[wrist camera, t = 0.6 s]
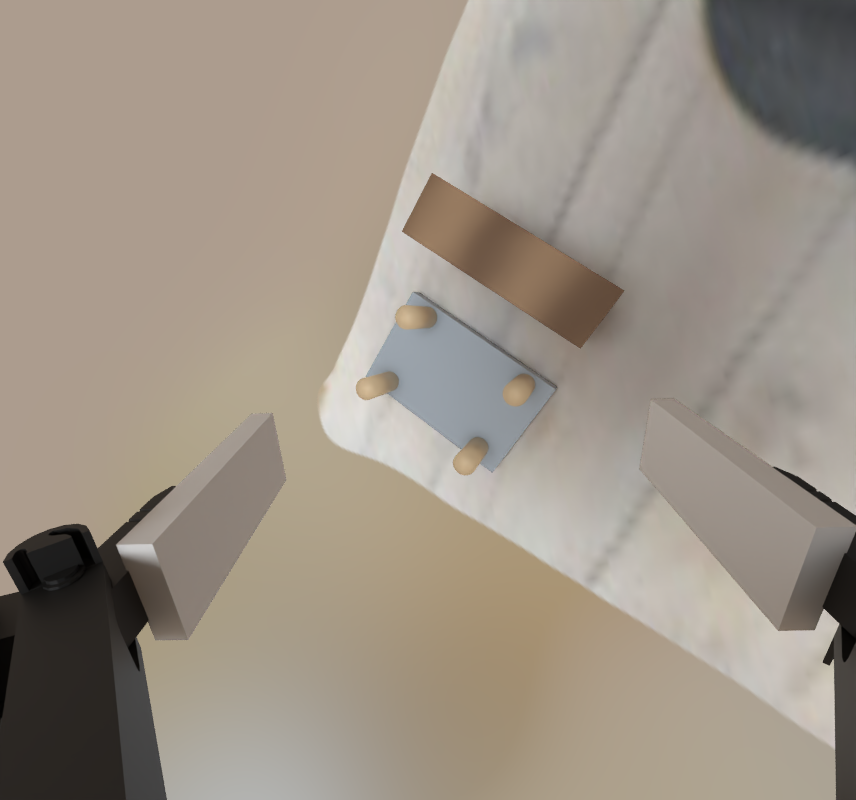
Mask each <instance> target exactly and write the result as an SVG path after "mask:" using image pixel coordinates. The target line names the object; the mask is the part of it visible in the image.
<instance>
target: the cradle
mask: <svg viewBox="0 0 856 800" xmlns="http://www.w3.org/2000/svg"><path fill="white" fill-rule="evenodd" d="M395 319H396V323H395V325H394V327H393V328H392V330H391V332H390V334H389V336H388V337H387V339H386V341H385V343H384V345H383V346H382V348H381V350H380V352H379V354H378V355H377V357H376V359H375V361H374V362H373V364H372V366H371V368H370V370H369V371H368V373H367V375H366V378H362V379H360V380H359V381H358V382H357V385H356V391H357V394H358V396H359V397H360V398H362V399H364V400H370V399H372V398H375V397H378V396H380V395H383V394H385V393H387V394H389V395H390V396H391V397H393V398H394V399H395V400H397V401H398V402H399V403H401V404H402V405H403V406H404V407H406V408H407V409H408V410H410V411H411V412H412V413H414V414H415V415H416V416H418V417H419V418H420V419H422V420H423V421H424V422H426V423H427V424H428V425H430V426H431V427H432V428H434V429H435V430H436V431H438V432H439V433H440V434H442V435H443V436H444V437H446V438H447V439H448V440H450V441H451V442H452V443H454V444H455V445H456V446H458V447H459V448H460V449H462V450H461V451H460V452H459V453H458V454H457V455H456V456H455V458H454V460H453V466H454V468H455V470H456V471H457V472H458V473H459V474H461V475H470V474H472V473H473V472H474V470H475V469H476V468H477V466H478V465H479V463H480V464H481V465H483V466H484V467H485V468H487V469H488V470H489V471H491V472H493V471H494V470H495V468H496V467H497V466H498V464H499V463H500V462H501V461H502V459H503V458H504V457H505V455H506V454H507V453H508V451H509V450H510V449H511V447H512V446H513V445H514V444H515V442H516V441H517V440H518V438H519V437H520V436H521V434H522V433H523V432H524V431H525V429H526V428H527V427H528V425H529V424H530V423H531V421H532V420H533V419H534V417H535V416H536V415H537V414H538V412H539V411H540V410H541V408H542V407H543V406H544V404H545V403H546V402H547V401H548V399H549V398H550V397H551V395H552V394H553V393H554V391H555V390H556V388H557V387H556V386H555V385H553V384H552V383H550V382H549V381H547V380H546V379H544V378H543V377H542V376H540V375H539V374H537V373H536V372H534V371H533V370H531V369H530V368H528V367H527V366H525V365H524V364H523V363H521V362H520V361H518V360H517V359H515V358H514V357H512V356H511V355H509V354H508V353H506V352H505V351H504V350H502V349H501V348H499V347H498V346H496V345H495V344H493V343H492V342H490V341H489V340H487V339H486V338H485V337H483V336H482V335H480V334H479V333H477V332H476V331H474V330H473V329H471V328H470V327H468V326H467V325H466V324H464V323H463V322H461V321H460V320H458V319H457V318H455V317H454V316H452V315H451V314H449V313H448V312H447V311H445V310H444V309H442V308H441V307H439V306H438V305H436V304H435V303H433V302H432V301H430V300H429V299H428V298H426V297H425V296H423V295H422V294H420V293H418V292H413V293H412V294H411V296H410V298H409V300H408V302H407V303H406V305H404V306H401V307H400V308H399V309H398V310H397V312H396V316H395Z"/></svg>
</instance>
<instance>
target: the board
mask: <svg viewBox="0 0 856 800" xmlns="http://www.w3.org/2000/svg"><path fill="white" fill-rule="evenodd" d="M402 232H404V233H405V234H407V235H408V236H410V237H411V238H413V239H414V240H416V241H417V242H419V243H420V244H422V245H423V246H425V247H426V248H428V249H429V250H431V251H433V252H434V253H436V254H437V255H439V256H440V257H442V258H443V259H445V260H446V261H448V262H449V263H451V264H452V265H454V266H455V267H457V268H458V269H460V270H461V271H463V272H465V273H466V274H468V275H469V276H471V277H472V278H474V279H475V280H477V281H478V282H480V283H481V284H483V285H484V286H486V287H487V288H489V289H490V290H492V291H493V292H495V293H497V294H498V295H500V296H501V297H503V298H504V299H506V300H507V301H509V302H510V303H512V304H513V305H515V306H516V307H518V308H519V309H521V310H522V311H524V312H525V313H527V314H529V315H530V316H532V317H533V318H535V319H536V320H538V321H539V322H541V323H542V324H544V325H545V326H547V327H548V328H550V329H551V330H553V331H554V332H556V333H558V334H559V335H561V336H562V337H564V338H565V339H567V340H568V341H570V342H571V343H573V344H574V345H576V346H577V347H579V348H580V349H581V347H582V346H583V345H584V343H585V342H586V341H587V339H588V338H589V337H590V335H591V334H592V333H593V332H594V330H595V329H596V328H597V326H598V325H599V324H600V322H601V321H602V320H603V318H604V317H605V316H606V314H607V313H608V312H609V310H610V309H611V308H612V307H613V305H614V304H615V303H616V301H617V300H618V299H619V297H620V296H621V295H622V293H623V292H624V290H622V289H621V288H619V287H618V286H616V285H614V284H613V283H611V282H609V281H608V280H606V279H605V278H603V277H601V276H600V275H598V274H596V273H595V272H593V271H591V270H590V269H588V268H587V267H585V266H583V265H582V264H580V263H578V262H577V261H575V260H573V259H572V258H570V257H569V256H567V255H565V254H564V253H562V252H560V251H559V250H557V249H556V248H554V247H552V246H551V245H549V244H547V243H546V242H544V241H542V240H541V239H539V238H538V237H536V236H534V235H533V234H531V233H529V232H528V231H526V230H524V229H523V228H521V227H520V226H518V225H516V224H515V223H513V222H511V221H510V220H508V219H507V218H505V217H503V216H502V215H500V214H498V213H497V212H495V211H493V210H492V209H490V208H489V207H487V206H485V205H484V204H482V203H480V202H479V201H477V200H475V199H474V198H472V197H471V196H469V195H467V194H466V193H464V192H462V191H461V190H459V189H458V188H456V187H454V186H453V185H451V184H449V183H448V182H446V181H444V180H443V179H441V178H440V177H438V176H436V175H435V174H433V173H432V174H431V176H430V178H429V180H428V182H427V184H426V186H425V188H424V190H423V191H422V193H421V195H420V197H419V199H418V201H417V203H416V205H415V207H414V209H413V211H412V213H411V215H410V217H409V219H408V220H407V222H406V224H405V226H404V228H403V230H402Z"/></svg>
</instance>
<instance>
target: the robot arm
mask: <svg viewBox="0 0 856 800" xmlns="http://www.w3.org/2000/svg"><path fill="white" fill-rule="evenodd" d="M639 469H640V470H641V471H642V473H643V474H644V475H645V476H646V477H647V478H648V480H649V481H650V482H651V483H652V484H653V485H654V487H655V488H656V489H657V490H658V491H659V492H660V494H661V495H662V496H663V497H664V498H665V499H666V501H667V502H668V503H669V504H670V505H671V506H672V508H673V509H674V510H675V511H676V512H677V513H678V515H679V516H680V517H681V518H682V519H683V520H684V522H685V523H686V524H687V525H688V526H689V527H690V529H691V530H692V531H693V532H694V533H695V534H696V536H697V537H698V538H699V539H700V540H701V541H702V543H703V544H704V545H705V546H706V547H707V548H708V549H709V551H710V552H711V553H712V554H713V555H714V556H715V558H716V559H717V560H718V561H719V562H720V563H721V565H722V566H723V567H724V568H725V569H726V570H727V572H728V573H729V574H730V575H731V576H732V577H733V579H734V580H735V581H736V582H737V583H738V584H739V586H740V587H741V588H742V589H743V590H744V591H745V593H746V594H747V595H748V596H749V597H750V598H751V600H752V601H753V602H754V603H755V604H756V605H757V607H758V608H759V609H760V610H761V611H762V612H763V614H764V615H765V616H766V617H767V618H768V619H769V621H770V622H771V623H772V624H773V625H774V626H775V628H776V629H777V630H778V631H788V630H815V628H816V626H817V623H818V621H819V618H820V616H821V614H822V611H823V609H825V610H826V611H827V612H828V613H829V614H830V615H831V616H832V617H833V618H834V619H835V620H836V621H837V622H838V623H839V626H838V629H837V631H836V633H835V635H834V638H833V640H832V642H831V644H830V647H829V649H828V651H827V653H826V656H825V658H824V660H823V663H825V664H827V665H829V666H830V664H831V662H832V660H833V659H834V686H835V753H836V800H856V516H855V515H854V514H852V513H851V512H849V511H848V510H847V509H845V508H844V507H842V506H841V505H839V504H838V503H836V502H832V501H831V499H830V498H829V497H827V496H826V495H824V494H823V493H821V492H817V491H816V489H815V488H814V487H812V486H811V485H809V484H808V483H806V482H805V481H804V480H802V479H801V478H799V477H797V476H795V475H793V474H790V473H788V472H786V471H783V470H781V469H779V468H777V467H772V466H770V465H769V464H767V463H766V462H764V461H763V460H762V459H760V458H759V457H757V456H756V455H754V454H753V453H751V452H750V451H749V450H747V449H746V448H744V447H743V446H741V445H740V444H739V443H737V442H736V441H734V440H733V439H731V438H730V437H729V436H727V435H726V434H724V433H723V432H721V431H720V430H718V429H717V428H716V427H714V426H713V425H711V424H710V423H708V422H707V421H706V420H704V419H703V418H701V417H700V416H698V415H697V414H696V413H694V412H693V411H691V410H690V409H688V408H687V407H685V406H684V405H683V404H681V403H680V402H678V401H677V400H675V399H674V398H670V399H651V402H650V408H649V414H648V420H647V426H646V432H645V438H644V444H643V450H642V456H641V462H640V468H639ZM285 481H286V475H285V471H284V466H283V461H282V456H281V452H280V446H279V442H278V437H277V433H276V428H275V422H274V417H273V413H259V414H251V415H249V416H248V417H247V419H245V420H244V421H243V422H242V423H241V424H240V425H239V426H238V427H237V428H236V429H235V430H234V431H233V432H232V433H231V434H230V435H229V436H228V437H227V438H226V439H225V440H224V441H223V442H222V443H221V444H220V445H219V446H218V447H216V449H214V450H213V451H212V452H211V453H210V454H209V455H208V456H207V457H206V458H205V459H204V460H203V461H202V462H201V463H200V464H199V465H198V466H197V467H196V468H195V469H194V470H193V471H192V472H191V473H190V474H189V475H188V476H187V477H186V478H185V479H183V480H182V481H181V482H180V483H179V484H178V485H177V486H171V487H169V488H168V489H166V490H164V491H163V492H161V493H159V494H158V495H156V496H154V497H153V498H152V499H151V500H150V501H148V502H147V503H146V504H145V505H144V506H143V507H142V508H141V509H140V512H137V513H135V514H134V515H133V516H132V517H131V518H130V519H129V522H126V523H125V524H124V525H123V526H122V527H120V528H119V529H118V530H117V531H116V532H115V533H114V534H113V535H112V536H111V537H110V538H109V539H108V540H107V541H105V542H104V543H103V544H102V545H101V546H100V547H99V548H98V549H97V547H96V545H95V542H94V540H93V537H92V535H91V533H90V531H89V529H88V528H87V526H85V525H80V524H71V525H63V526H60V527H56V528H53V529H49V530H47V531H44V532H42V533H39V534H37V535H35V536H33V537H31V538H29V539H27V540H26V541H24V542H23V543H21V544H19V545H18V546H16V547H15V548H14V549H13V550H12V551H10V553H8V554H7V556H6V558H5V560H4V561H3V563H4V565H5V567H6V568H7V570H8V572H9V574H10V576H11V577H12V579H13V581H14V583H15V585H16V586H17V588H18V590H19V592H16V593H12V594H8V595H4V596H0V800H167V798H166V792H165V787H164V780H163V775H162V769H161V763H160V757H159V751H158V745H157V740H156V734H155V728H154V723H153V716H152V710H151V704H150V699H149V693H148V687H147V681H146V675H145V669H144V663H143V658H142V652H141V647H140V645H139V643H138V640H137V638H136V637H137V635H138V634H139V632H140V631H141V630H142V629H143V627H144V626H145V625H146V623H147V622H148V623H149V626H150V628H151V631H152V633H153V635H154V638H155V640H188V639H189V637H190V636H191V634H192V633H193V631H194V629H195V628H196V626H197V624H198V623H199V621H200V620H201V618H202V616H203V614H204V613H205V611H206V610H207V608H208V606H209V605H210V603H211V602H212V600H213V598H214V597H215V595H216V593H217V592H218V590H219V589H220V587H221V585H222V584H223V582H224V580H225V579H226V577H227V576H228V574H229V572H230V571H231V569H232V567H233V566H234V564H235V562H236V561H237V559H238V558H239V556H240V554H241V553H242V551H243V549H244V548H245V546H246V545H247V543H248V541H249V540H250V538H251V536H252V535H253V533H254V531H255V530H256V528H257V527H258V525H259V523H260V522H261V520H262V518H263V517H264V515H265V514H266V512H267V510H268V509H269V507H270V505H271V504H272V502H273V501H274V499H275V497H276V496H277V494H278V492H279V491H280V489H281V488H282V486H283V484H284V483H285Z"/></svg>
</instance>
